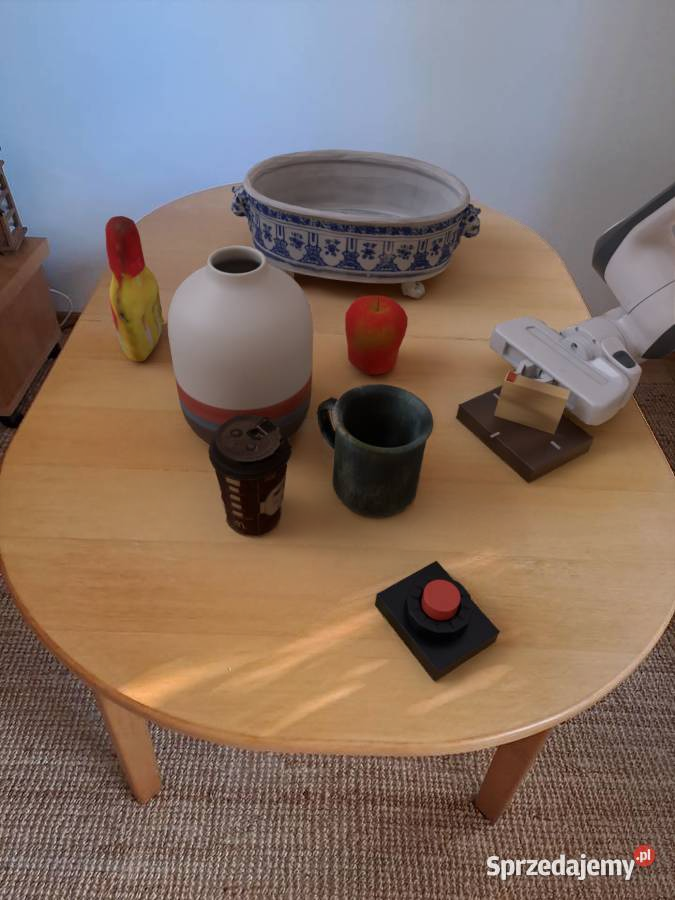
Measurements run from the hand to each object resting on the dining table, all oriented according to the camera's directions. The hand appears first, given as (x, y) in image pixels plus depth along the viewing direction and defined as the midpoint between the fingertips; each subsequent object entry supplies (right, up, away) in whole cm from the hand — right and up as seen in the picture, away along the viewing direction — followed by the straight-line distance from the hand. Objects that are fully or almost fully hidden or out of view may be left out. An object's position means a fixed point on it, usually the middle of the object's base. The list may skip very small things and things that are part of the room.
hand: (512, 386), depth 88 cm
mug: (-20, -12, -5) cm, 24 cm away
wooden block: (+2, -4, +1) cm, 5 cm away
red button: (-13, -24, -21) cm, 34 cm away
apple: (-18, +4, +11) cm, 21 cm away
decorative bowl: (-20, +25, +32) cm, 45 cm away
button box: (-13, -26, -18) cm, 34 cm away
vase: (-35, -4, +2) cm, 35 cm away
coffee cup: (-32, -16, -9) cm, 37 cm away
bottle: (-52, +7, +12) cm, 54 cm away
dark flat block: (+2, -6, +2) cm, 7 cm away
